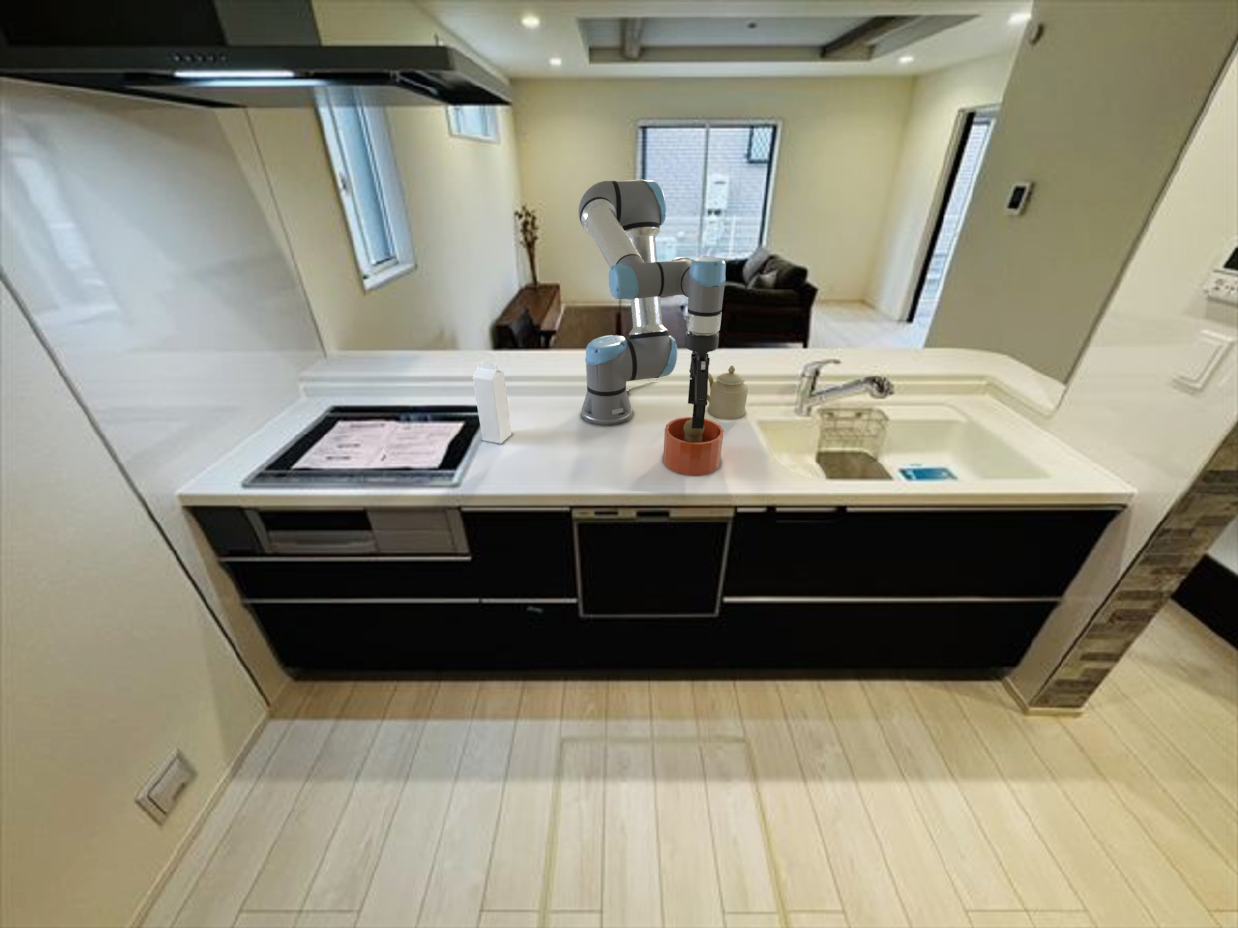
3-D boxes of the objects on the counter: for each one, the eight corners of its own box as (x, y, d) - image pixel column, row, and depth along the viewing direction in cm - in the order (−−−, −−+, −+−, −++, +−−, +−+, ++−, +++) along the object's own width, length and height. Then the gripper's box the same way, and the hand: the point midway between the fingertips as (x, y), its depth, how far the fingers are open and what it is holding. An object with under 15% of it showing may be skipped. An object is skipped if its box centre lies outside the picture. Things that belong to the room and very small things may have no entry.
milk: (493, 431, 149) (483, 357, 138) (512, 434, 148) (502, 360, 136) (482, 440, 144) (470, 365, 133) (501, 444, 143) (490, 368, 131)
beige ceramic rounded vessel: (695, 417, 157) (699, 370, 149) (696, 402, 166) (699, 357, 158) (745, 420, 155) (752, 373, 147) (743, 405, 164) (749, 359, 156)
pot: (662, 445, 142) (664, 416, 137) (716, 447, 141) (720, 417, 136) (664, 474, 129) (665, 443, 125) (723, 476, 129) (727, 444, 124)
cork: (702, 466, 132) (706, 428, 126) (678, 464, 133) (681, 426, 127) (703, 454, 137) (707, 417, 131) (680, 452, 138) (683, 415, 132)
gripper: (682, 315, 128) (677, 394, 139) (689, 349, 107) (683, 439, 118) (713, 315, 128) (705, 394, 139) (726, 349, 107) (716, 439, 118)
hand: (695, 415), depth 129 cm, fingers open, 13 cm apart
